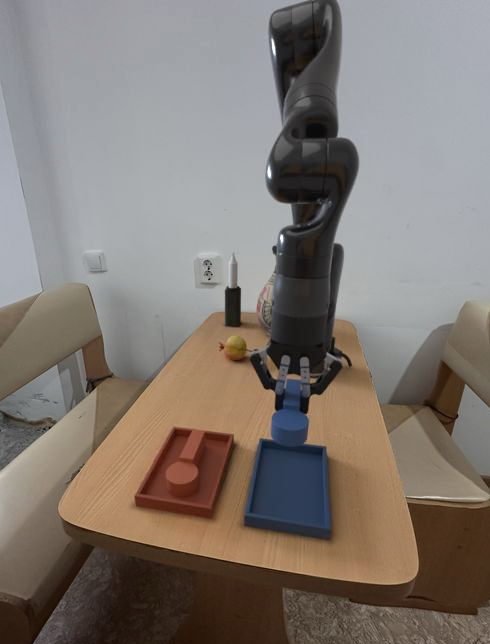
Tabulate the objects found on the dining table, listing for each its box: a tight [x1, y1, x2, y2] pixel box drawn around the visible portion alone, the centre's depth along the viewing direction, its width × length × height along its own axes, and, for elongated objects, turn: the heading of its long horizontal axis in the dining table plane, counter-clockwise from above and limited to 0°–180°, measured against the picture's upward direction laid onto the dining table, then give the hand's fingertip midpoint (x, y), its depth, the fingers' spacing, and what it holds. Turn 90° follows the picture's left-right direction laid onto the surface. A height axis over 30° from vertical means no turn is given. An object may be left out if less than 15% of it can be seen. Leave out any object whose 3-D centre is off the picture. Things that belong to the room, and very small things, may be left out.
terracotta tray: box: [133, 426, 235, 520], centre depth 65 cm, size 18×12×2 cm
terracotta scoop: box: [166, 428, 206, 497], centre depth 64 cm, size 13×5×4 cm, turn 168°
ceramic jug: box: [255, 243, 277, 337], centre depth 117 cm, size 17×15×30 cm
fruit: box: [218, 335, 253, 361], centre depth 105 cm, size 7×7×10 cm
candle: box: [224, 251, 242, 328], centre depth 127 cm, size 5×5×25 cm
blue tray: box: [243, 437, 332, 541], centre depth 61 cm, size 18×12×2 cm
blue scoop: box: [270, 378, 310, 447], centre depth 56 cm, size 13×5×4 cm, turn 168°
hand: (290, 412), depth 58 cm, fingers closed on blue scoop, 2 cm apart
